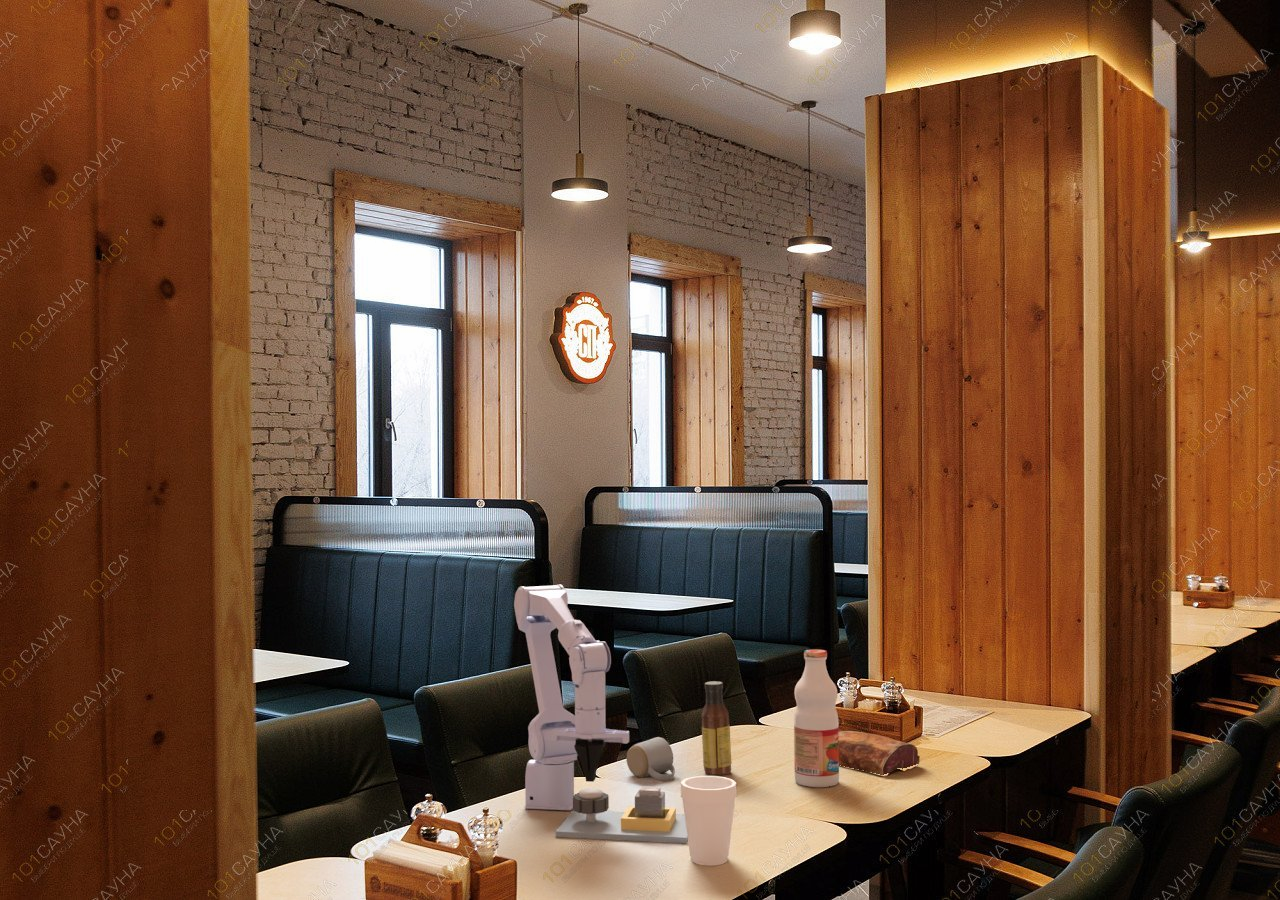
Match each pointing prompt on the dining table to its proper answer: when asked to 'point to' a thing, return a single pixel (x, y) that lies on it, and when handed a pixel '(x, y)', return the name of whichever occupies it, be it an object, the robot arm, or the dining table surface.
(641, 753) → the ceramic mug
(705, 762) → the sauce bottle
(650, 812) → the grey square peg
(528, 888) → the dining table surface
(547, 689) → the robot arm
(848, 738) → the cured meat
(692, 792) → the foam cup
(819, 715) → the fruit juice
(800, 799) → the dining table surface
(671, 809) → the plate
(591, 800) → the dark grey knob
